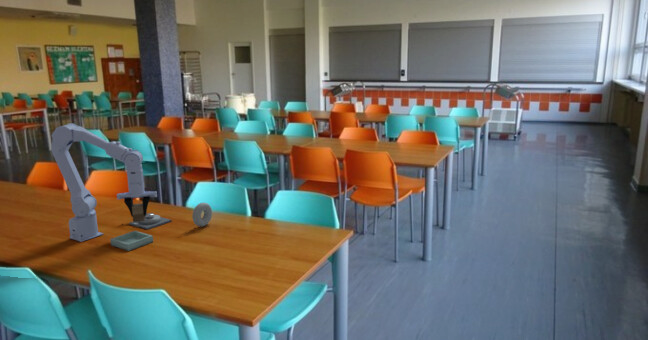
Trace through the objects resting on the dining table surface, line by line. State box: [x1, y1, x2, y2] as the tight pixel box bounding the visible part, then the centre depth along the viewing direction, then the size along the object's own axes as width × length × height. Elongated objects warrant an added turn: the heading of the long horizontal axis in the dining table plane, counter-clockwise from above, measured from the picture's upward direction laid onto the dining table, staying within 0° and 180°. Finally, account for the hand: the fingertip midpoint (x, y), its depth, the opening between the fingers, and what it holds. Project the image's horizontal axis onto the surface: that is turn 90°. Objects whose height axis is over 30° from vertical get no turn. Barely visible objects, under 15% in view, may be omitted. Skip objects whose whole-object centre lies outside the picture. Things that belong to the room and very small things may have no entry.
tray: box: [109, 230, 154, 252], centre depth 181 cm, size 11×11×2 cm
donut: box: [192, 202, 213, 227], centre depth 198 cm, size 10×3×10 cm, turn 151°
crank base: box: [128, 214, 172, 230], centre depth 204 cm, size 12×12×2 cm
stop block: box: [132, 202, 146, 222], centre depth 190 cm, size 4×4×6 cm
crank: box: [145, 212, 155, 218], centre depth 204 cm, size 11×3×4 cm, turn 67°
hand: (139, 215), depth 190 cm, fingers closed on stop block, 4 cm apart
